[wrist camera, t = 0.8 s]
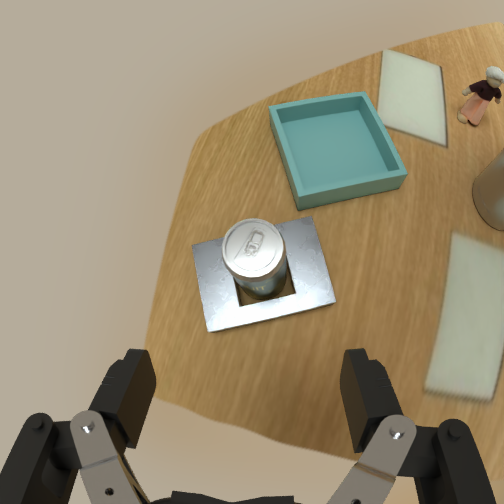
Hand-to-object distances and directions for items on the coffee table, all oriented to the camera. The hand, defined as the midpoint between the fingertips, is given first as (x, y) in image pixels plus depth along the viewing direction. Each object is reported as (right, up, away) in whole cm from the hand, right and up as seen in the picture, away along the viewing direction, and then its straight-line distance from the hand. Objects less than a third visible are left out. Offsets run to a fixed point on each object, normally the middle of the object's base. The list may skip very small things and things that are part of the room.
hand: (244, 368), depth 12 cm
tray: (+11, +18, +29) cm, 35 cm away
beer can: (+2, +2, +25) cm, 25 cm away
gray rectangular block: (+2, +2, +25) cm, 25 cm away
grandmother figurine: (+37, +27, +29) cm, 54 cm away
